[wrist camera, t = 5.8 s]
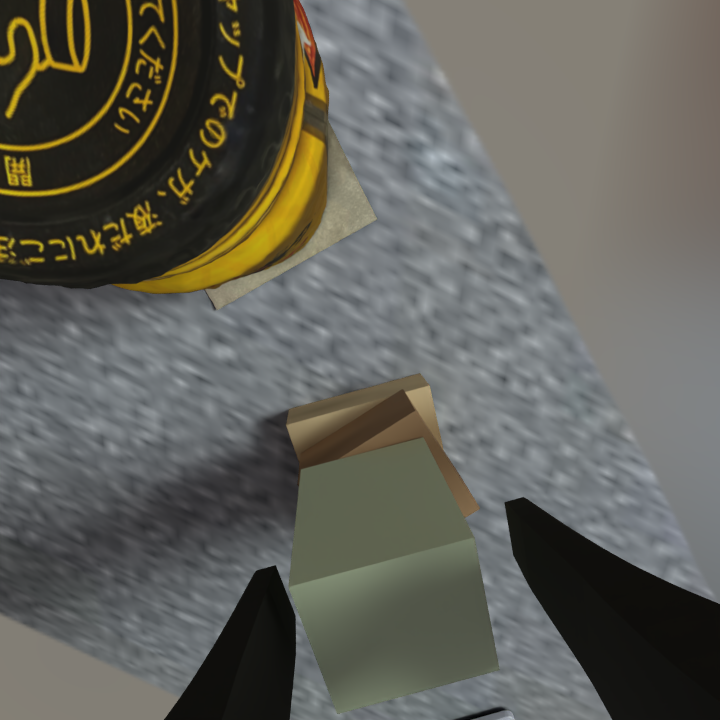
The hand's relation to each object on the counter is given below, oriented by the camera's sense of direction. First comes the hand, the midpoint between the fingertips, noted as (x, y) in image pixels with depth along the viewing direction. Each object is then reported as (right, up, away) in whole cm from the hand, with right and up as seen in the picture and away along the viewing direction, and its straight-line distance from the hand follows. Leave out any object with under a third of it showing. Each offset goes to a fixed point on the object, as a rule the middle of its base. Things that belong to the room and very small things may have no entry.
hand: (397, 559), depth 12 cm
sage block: (-1, +1, +3) cm, 3 cm away
